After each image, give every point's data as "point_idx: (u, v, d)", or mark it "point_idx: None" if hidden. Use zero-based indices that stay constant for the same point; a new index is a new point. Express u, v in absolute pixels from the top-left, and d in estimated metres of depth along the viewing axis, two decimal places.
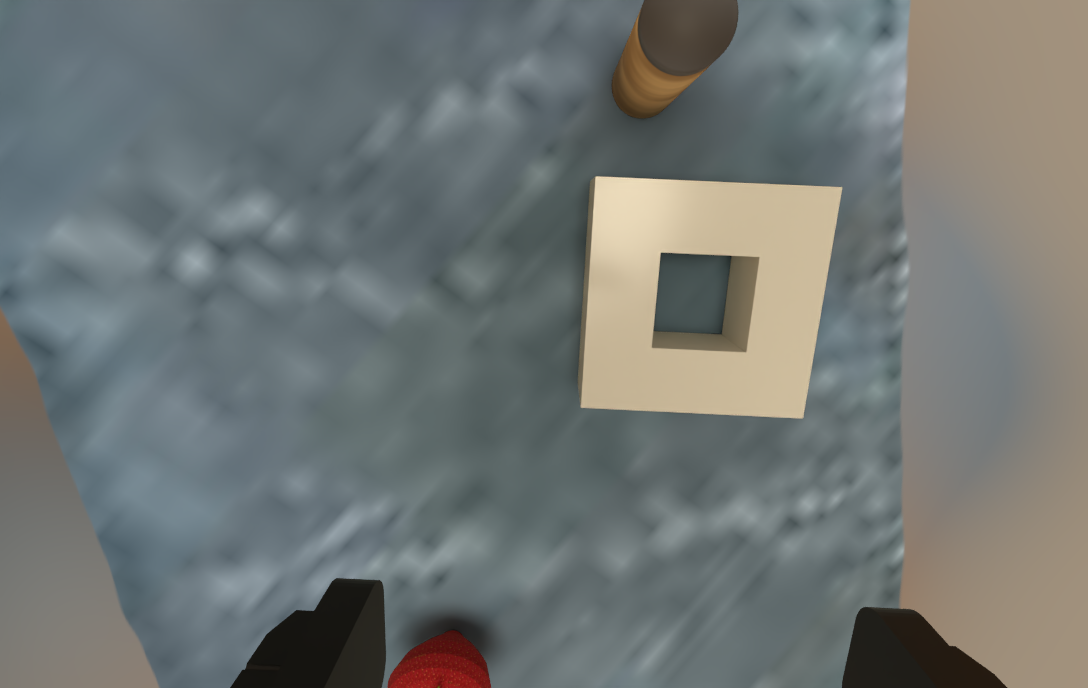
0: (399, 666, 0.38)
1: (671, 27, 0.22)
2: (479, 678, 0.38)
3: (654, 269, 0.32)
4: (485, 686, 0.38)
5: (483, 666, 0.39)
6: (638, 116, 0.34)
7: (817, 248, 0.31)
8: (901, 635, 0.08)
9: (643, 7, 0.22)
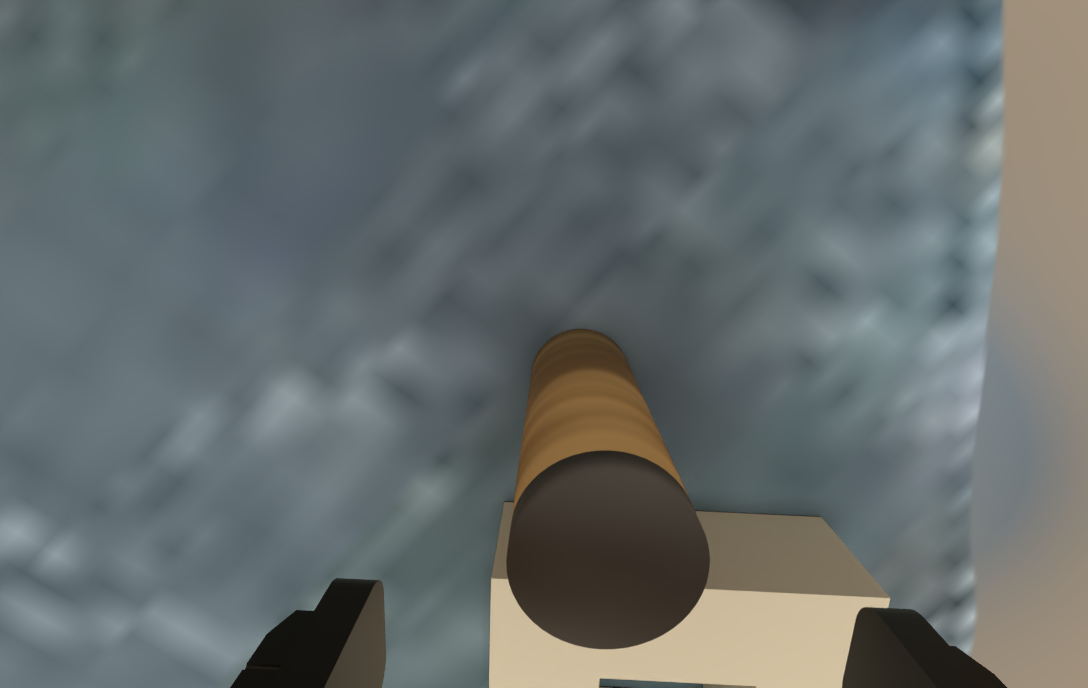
0: None
1: (570, 581, 0.11)
2: None
3: None
4: None
5: None
6: None
7: None
8: (901, 635, 0.08)
9: (509, 546, 0.10)
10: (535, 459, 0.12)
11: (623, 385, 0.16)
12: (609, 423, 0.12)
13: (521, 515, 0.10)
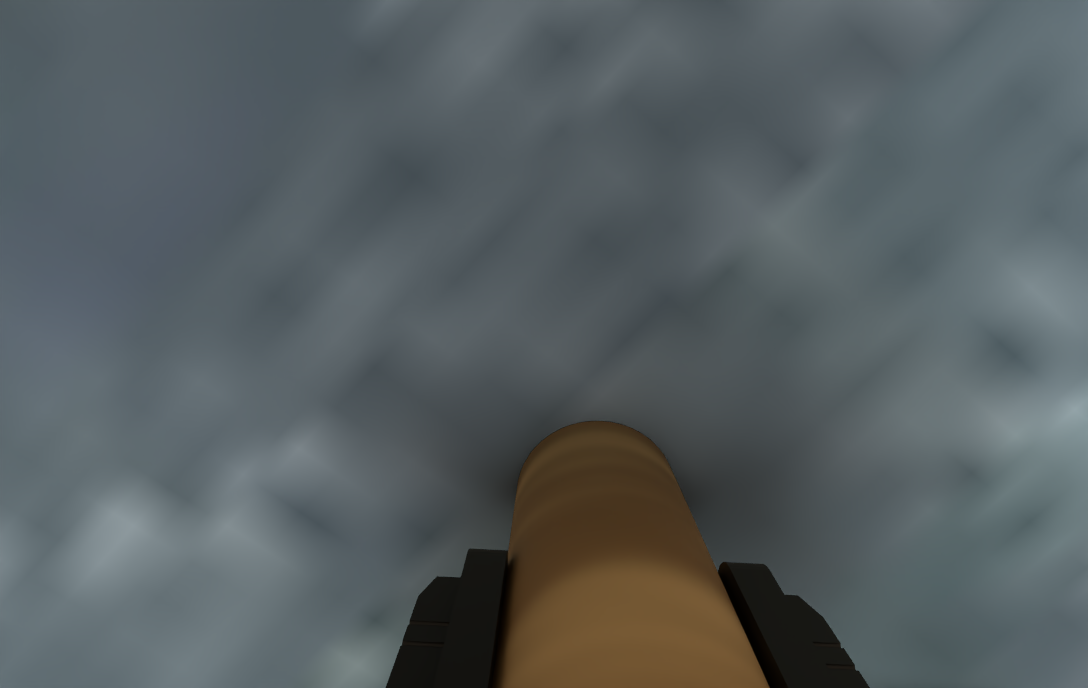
0: None
1: None
2: None
3: None
4: None
5: None
6: None
7: None
8: (743, 584, 0.09)
9: None
10: None
11: (705, 616, 0.07)
12: None
13: None
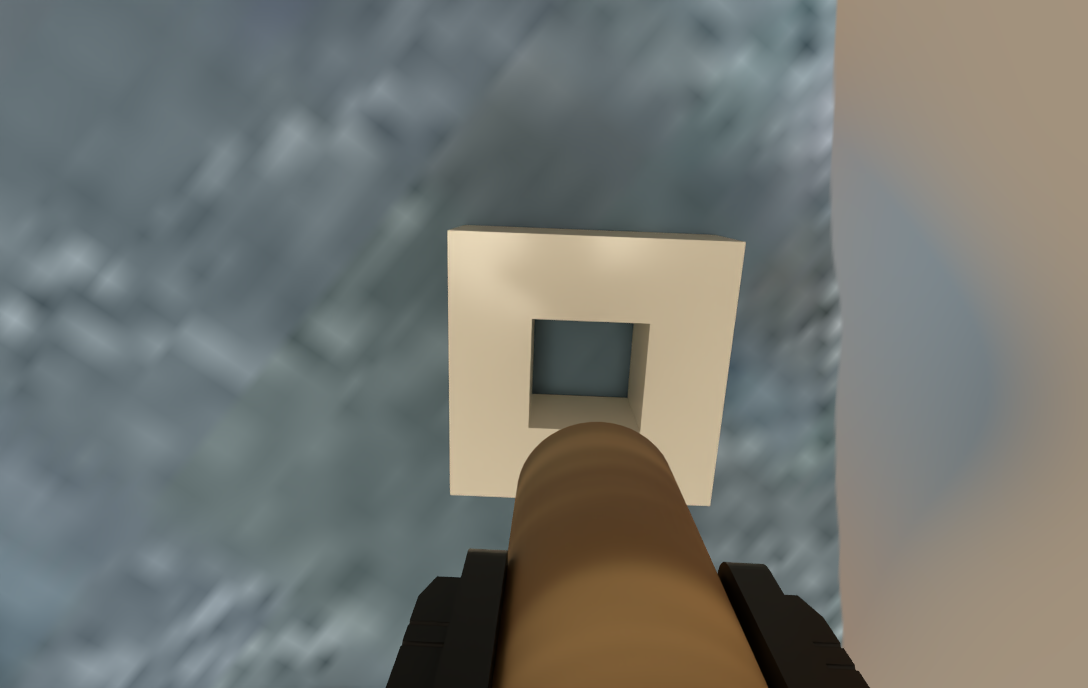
0: None
1: None
2: None
3: (525, 338, 0.26)
4: None
5: None
6: None
7: (718, 313, 0.26)
8: (743, 583, 0.09)
9: None
10: None
11: (705, 617, 0.07)
12: None
13: None
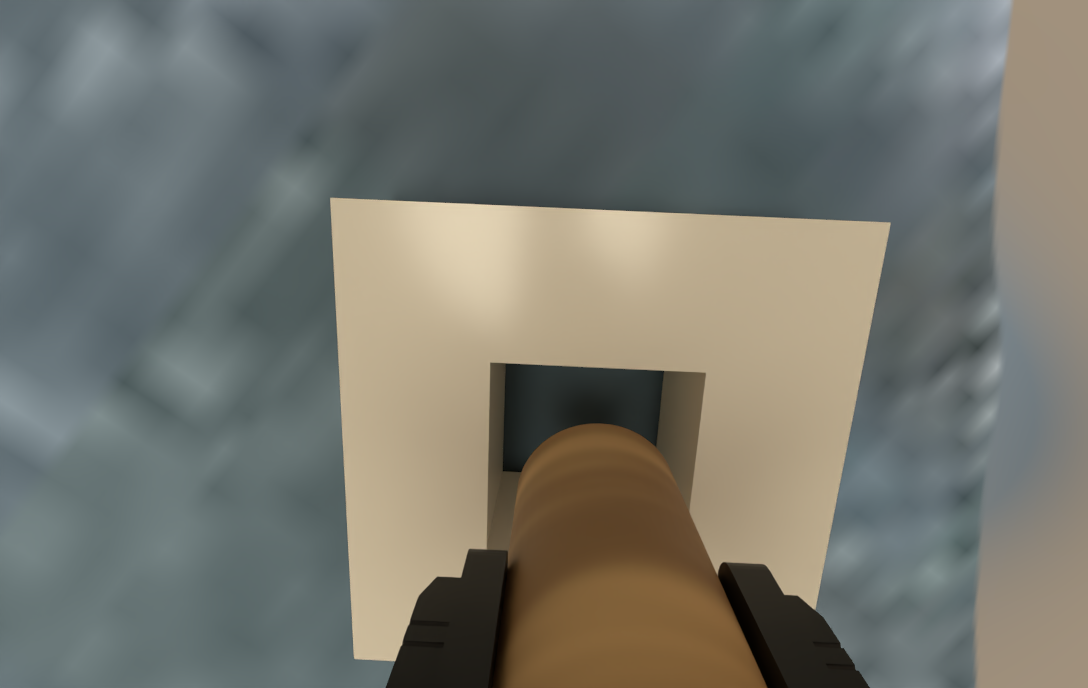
0: None
1: None
2: None
3: (479, 397, 0.15)
4: None
5: None
6: None
7: (833, 355, 0.14)
8: (743, 584, 0.09)
9: None
10: None
11: (705, 620, 0.07)
12: None
13: None
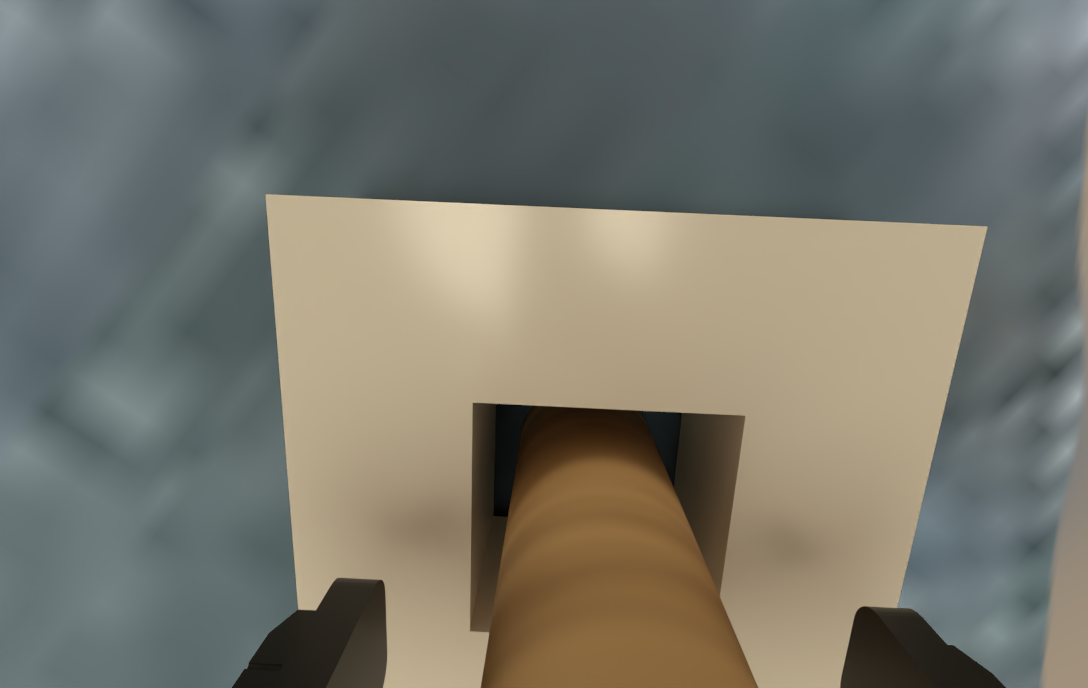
0: None
1: None
2: None
3: (459, 445, 0.12)
4: None
5: None
6: None
7: (907, 394, 0.11)
8: (899, 634, 0.08)
9: None
10: (508, 670, 0.07)
11: (651, 488, 0.10)
12: (639, 598, 0.07)
13: None
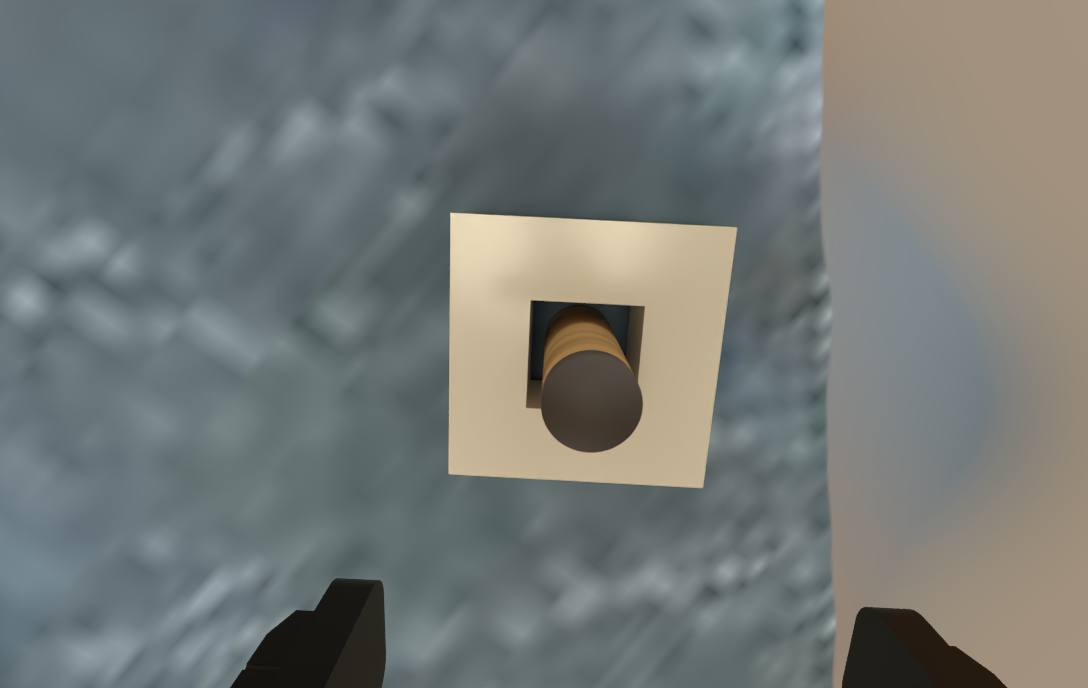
0: None
1: (573, 413, 0.21)
2: None
3: (524, 319, 0.27)
4: None
5: None
6: None
7: (711, 297, 0.27)
8: (901, 635, 0.08)
9: (542, 395, 0.21)
10: (554, 359, 0.23)
11: (604, 331, 0.26)
12: (594, 342, 0.23)
13: (549, 378, 0.21)
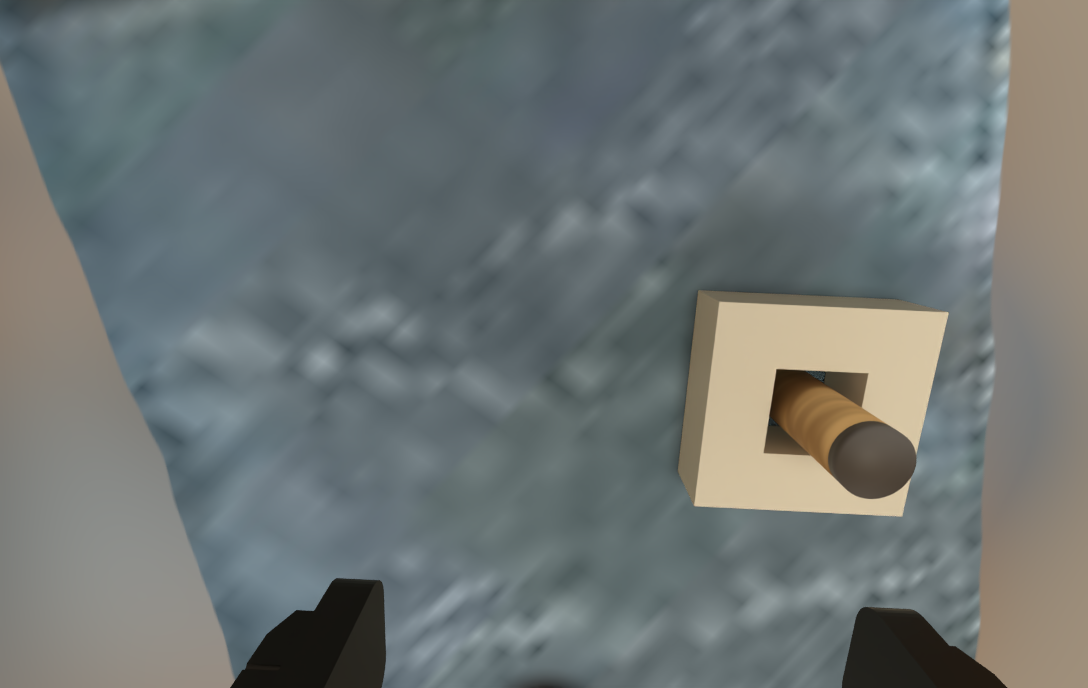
0: None
1: (861, 470, 0.28)
2: None
3: (769, 383, 0.34)
4: None
5: None
6: None
7: (922, 366, 0.34)
8: (901, 635, 0.08)
9: (840, 456, 0.28)
10: (832, 426, 0.29)
11: (841, 395, 0.33)
12: (860, 411, 0.30)
13: (846, 444, 0.28)
